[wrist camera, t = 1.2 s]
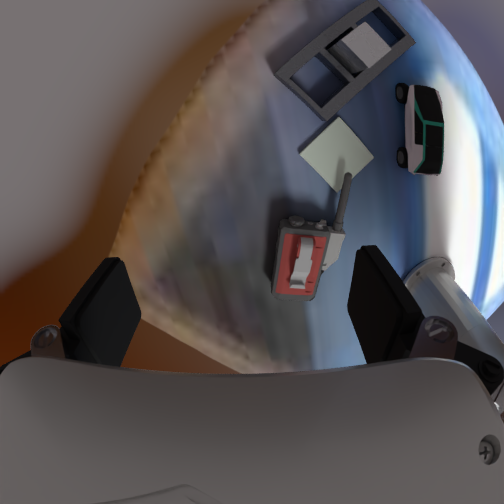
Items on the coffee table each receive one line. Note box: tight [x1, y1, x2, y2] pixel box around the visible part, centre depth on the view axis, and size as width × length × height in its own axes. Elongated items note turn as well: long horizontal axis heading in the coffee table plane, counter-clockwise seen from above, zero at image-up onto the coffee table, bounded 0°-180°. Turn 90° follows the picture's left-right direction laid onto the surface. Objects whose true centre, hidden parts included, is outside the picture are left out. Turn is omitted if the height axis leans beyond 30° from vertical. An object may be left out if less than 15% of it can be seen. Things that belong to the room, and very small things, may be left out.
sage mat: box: [299, 117, 374, 192], centre depth 31 cm, size 7×7×1 cm
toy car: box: [395, 83, 444, 176], centre depth 27 cm, size 6×12×5 cm, turn 6°
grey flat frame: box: [274, 0, 416, 121], centre depth 24 cm, size 18×8×2 cm, turn 138°
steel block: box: [327, 22, 392, 74], centre depth 22 cm, size 4×4×7 cm
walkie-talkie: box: [271, 172, 352, 301], centre depth 35 cm, size 9×4×20 cm
